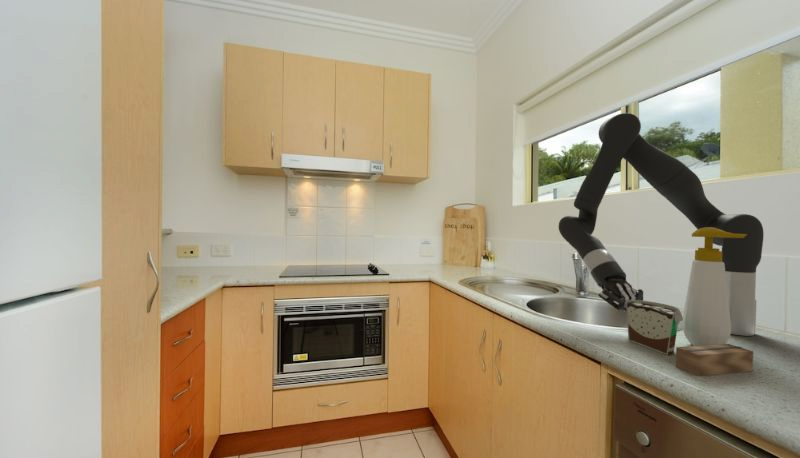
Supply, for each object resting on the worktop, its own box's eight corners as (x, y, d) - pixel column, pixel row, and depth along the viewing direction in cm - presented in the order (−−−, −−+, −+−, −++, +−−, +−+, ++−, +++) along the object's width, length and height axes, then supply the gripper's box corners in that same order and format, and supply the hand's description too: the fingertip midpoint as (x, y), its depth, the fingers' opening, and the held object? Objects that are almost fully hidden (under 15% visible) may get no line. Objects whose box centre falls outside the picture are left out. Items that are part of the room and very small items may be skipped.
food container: (696, 356, 69) (697, 311, 69) (674, 357, 68) (676, 312, 68) (642, 336, 81) (643, 298, 81) (622, 338, 80) (624, 299, 80)
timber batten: (728, 362, 66) (728, 343, 66) (752, 371, 63) (753, 350, 63) (675, 366, 64) (676, 346, 64) (697, 375, 60) (698, 354, 60)
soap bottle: (738, 362, 67) (743, 226, 66) (675, 346, 75) (679, 226, 75) (746, 349, 74) (751, 228, 74) (688, 336, 83) (692, 227, 82)
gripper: (591, 259, 87) (629, 316, 75) (631, 260, 89) (674, 315, 77) (576, 275, 92) (609, 330, 80) (614, 275, 95) (652, 329, 83)
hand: (641, 323), depth 79 cm, fingers closed
